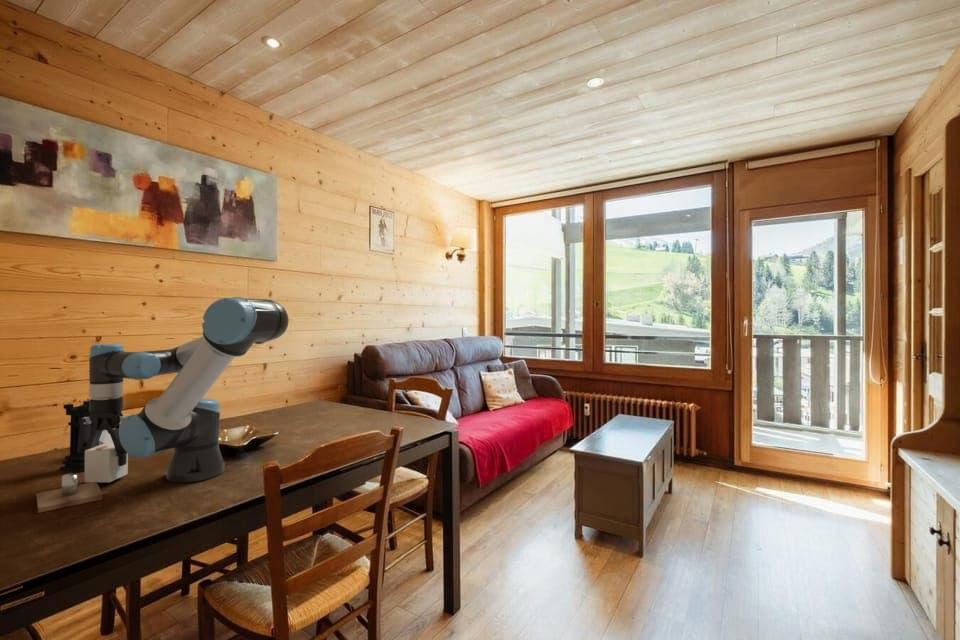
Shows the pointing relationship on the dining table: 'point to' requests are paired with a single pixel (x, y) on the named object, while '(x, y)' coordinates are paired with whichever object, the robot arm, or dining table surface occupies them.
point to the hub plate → (68, 497)
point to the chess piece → (75, 437)
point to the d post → (69, 484)
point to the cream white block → (101, 463)
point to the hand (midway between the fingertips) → (105, 476)
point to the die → (105, 438)
